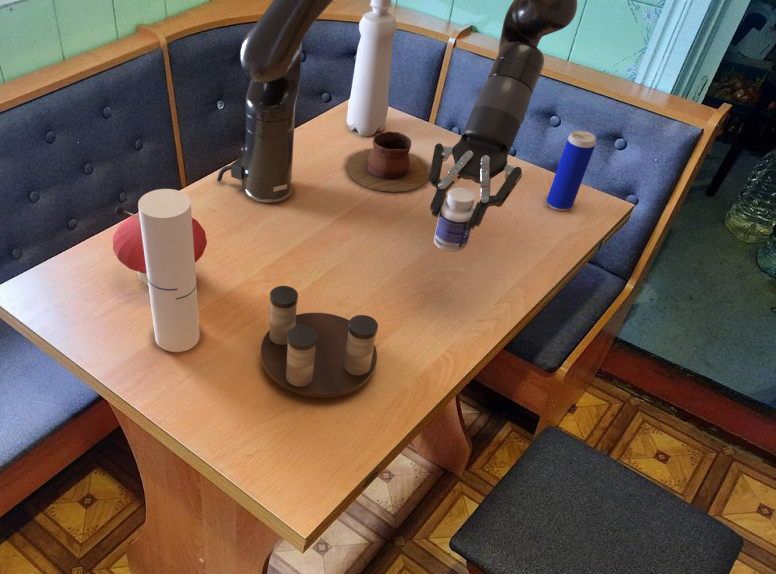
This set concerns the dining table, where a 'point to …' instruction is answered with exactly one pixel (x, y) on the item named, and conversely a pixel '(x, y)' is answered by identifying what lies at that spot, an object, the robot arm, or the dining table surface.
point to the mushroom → (131, 243)
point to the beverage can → (571, 170)
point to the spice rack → (317, 348)
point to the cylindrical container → (170, 267)
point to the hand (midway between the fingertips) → (452, 221)
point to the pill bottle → (455, 220)
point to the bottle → (372, 70)
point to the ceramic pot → (388, 165)
